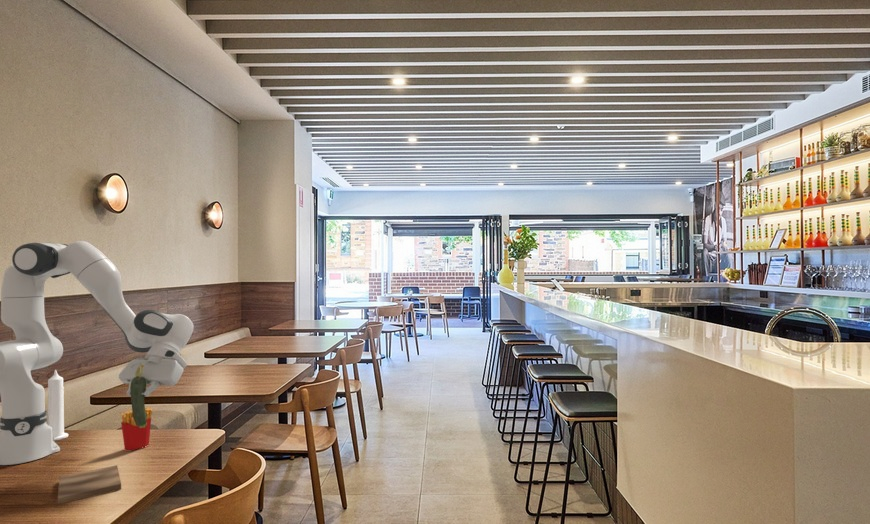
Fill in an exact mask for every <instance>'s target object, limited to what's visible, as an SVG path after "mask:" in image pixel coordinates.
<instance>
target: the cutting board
mask: <svg viewBox="0 0 870 524" xmlns="http://www.w3.org/2000/svg"><path fill="white" fill-rule="evenodd" d="M58 479H59V481H58V491H57V505H60V504H65V503H68V502H73V501H77V500H82V499H85V498H89V497H94V496H98V495H102V494H106V493H111V492H114V491H119V490H122V482H121V477H120V472H119V466H118V464H116V465H112V466H107V467H100V468H97V469H93V470H87V471H81V472H78V473H74V474H73V473H72V474H69V475H68V474H67V475H63V476H60V477H59V478H58Z"/></svg>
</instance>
